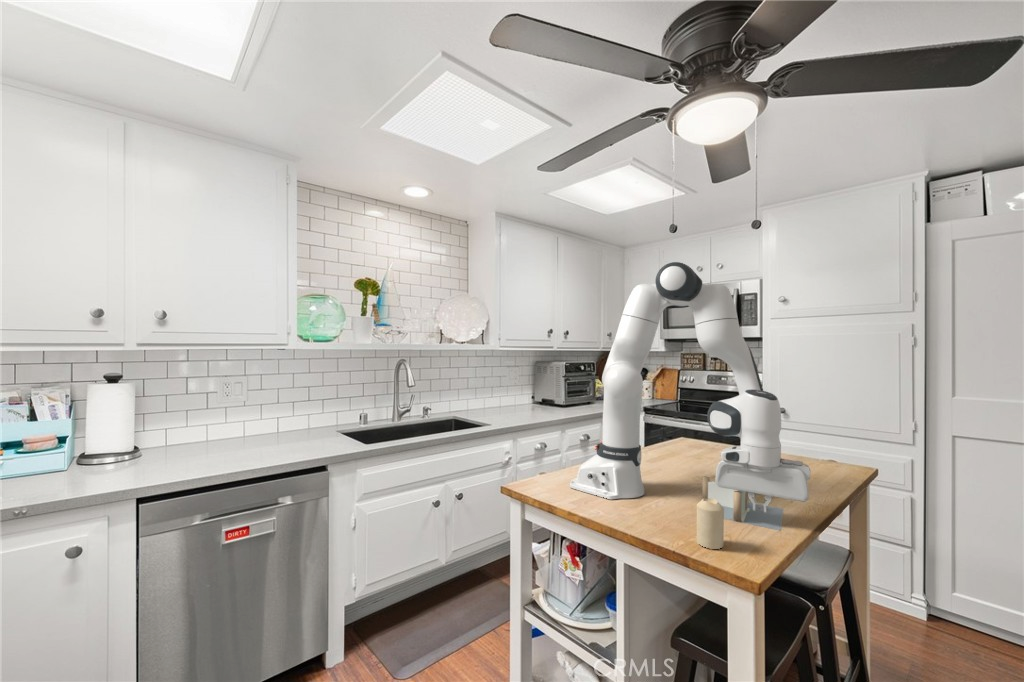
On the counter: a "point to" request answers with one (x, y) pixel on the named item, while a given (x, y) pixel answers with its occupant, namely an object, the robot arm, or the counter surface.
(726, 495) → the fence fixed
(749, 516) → the board
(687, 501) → the counter surface
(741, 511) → the fence panel
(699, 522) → the candle
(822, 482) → the counter surface
